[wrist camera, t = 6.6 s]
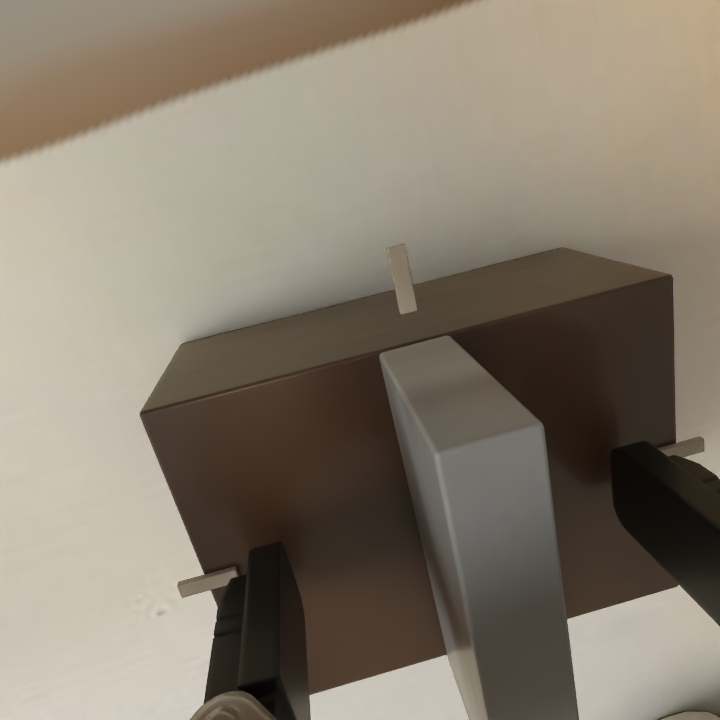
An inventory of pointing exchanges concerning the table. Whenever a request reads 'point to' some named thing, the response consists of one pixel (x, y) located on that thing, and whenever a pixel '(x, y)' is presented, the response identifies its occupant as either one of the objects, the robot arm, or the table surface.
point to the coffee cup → (692, 716)
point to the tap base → (382, 451)
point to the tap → (484, 531)
